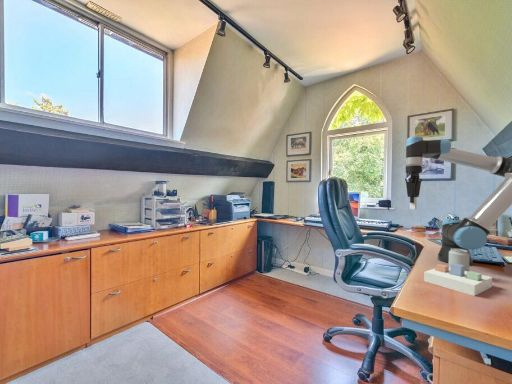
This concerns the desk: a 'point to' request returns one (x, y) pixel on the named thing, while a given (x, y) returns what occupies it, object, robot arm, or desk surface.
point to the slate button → (457, 269)
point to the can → (459, 257)
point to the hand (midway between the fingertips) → (413, 208)
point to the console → (458, 282)
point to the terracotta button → (442, 268)
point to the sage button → (474, 276)
